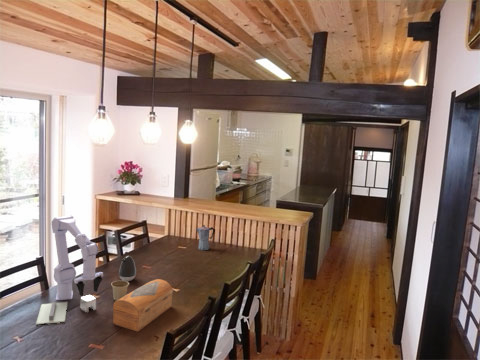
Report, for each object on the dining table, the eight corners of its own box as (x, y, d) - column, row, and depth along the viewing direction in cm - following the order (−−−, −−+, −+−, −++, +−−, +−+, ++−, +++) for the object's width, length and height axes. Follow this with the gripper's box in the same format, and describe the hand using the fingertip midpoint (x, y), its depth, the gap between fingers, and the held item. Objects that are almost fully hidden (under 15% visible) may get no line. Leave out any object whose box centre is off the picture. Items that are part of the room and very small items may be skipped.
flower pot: (122, 293, 210) (122, 278, 209) (131, 299, 205) (132, 284, 204) (107, 298, 203) (107, 283, 202) (116, 304, 197) (117, 288, 196)
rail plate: (41, 306, 189) (41, 300, 188) (67, 303, 193) (67, 298, 193) (35, 325, 170) (36, 319, 170) (64, 322, 175) (64, 316, 174)
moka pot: (193, 247, 306) (195, 223, 304) (211, 246, 311) (213, 223, 308) (195, 250, 297) (197, 226, 295) (214, 250, 302) (216, 226, 299)
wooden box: (147, 299, 205) (148, 275, 204) (172, 307, 199) (174, 282, 198) (109, 323, 178) (110, 296, 176) (137, 332, 172) (139, 304, 170)
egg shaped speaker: (114, 280, 228) (115, 256, 226) (127, 275, 237) (128, 252, 235) (126, 284, 223) (128, 260, 221) (139, 279, 232) (140, 255, 231)
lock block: (80, 308, 190) (80, 297, 189) (89, 305, 193) (89, 294, 193) (86, 312, 186) (86, 301, 185) (95, 309, 190) (96, 298, 189)
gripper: (79, 273, 179) (78, 299, 180) (106, 266, 190) (105, 291, 192) (72, 269, 183) (71, 295, 185) (99, 262, 195) (98, 287, 196)
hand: (88, 293), depth 189 cm, fingers open, 7 cm apart
